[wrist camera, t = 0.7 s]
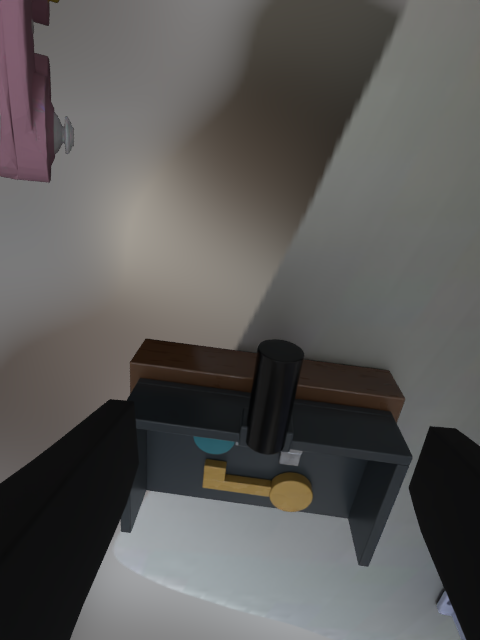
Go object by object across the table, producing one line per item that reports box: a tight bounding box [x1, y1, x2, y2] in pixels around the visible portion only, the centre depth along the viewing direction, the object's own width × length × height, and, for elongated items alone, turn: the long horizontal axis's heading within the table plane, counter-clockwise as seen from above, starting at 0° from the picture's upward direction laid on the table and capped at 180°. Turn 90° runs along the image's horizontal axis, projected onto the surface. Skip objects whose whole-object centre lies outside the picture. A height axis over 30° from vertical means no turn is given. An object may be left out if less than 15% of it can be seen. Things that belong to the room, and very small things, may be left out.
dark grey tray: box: [121, 339, 412, 566], centre depth 16 cm, size 11×12×4 cm
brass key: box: [202, 459, 313, 512], centre depth 19 cm, size 6×2×1 cm, turn 84°
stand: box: [130, 339, 405, 423], centre depth 20 cm, size 8×13×2 cm, turn 84°
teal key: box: [193, 436, 303, 466], centre depth 18 cm, size 5×2×1 cm, turn 84°
